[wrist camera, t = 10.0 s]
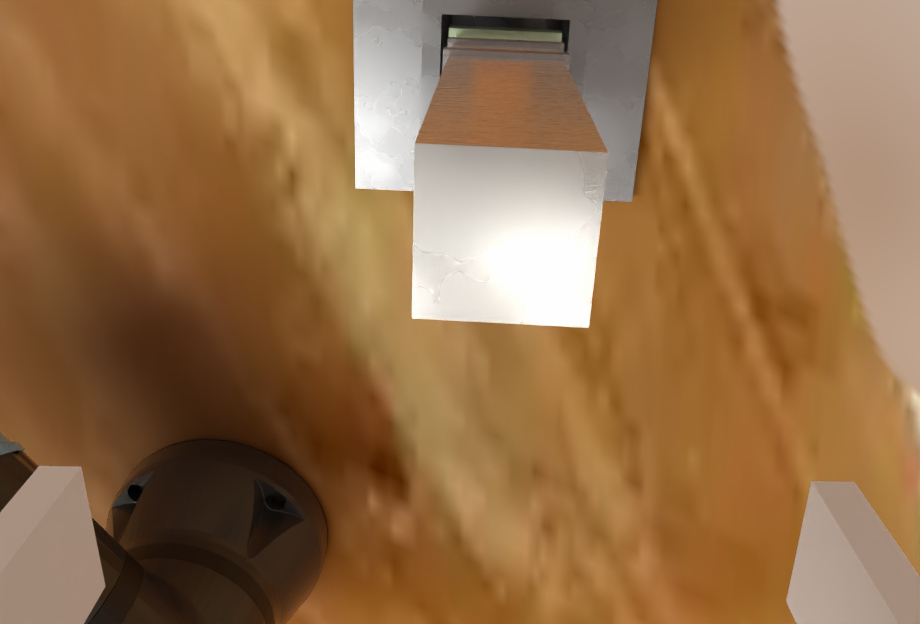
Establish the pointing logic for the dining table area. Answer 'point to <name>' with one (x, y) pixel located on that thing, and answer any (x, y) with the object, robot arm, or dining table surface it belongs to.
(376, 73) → the stand
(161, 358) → the dining table surface
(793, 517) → the dining table surface
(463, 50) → the column
